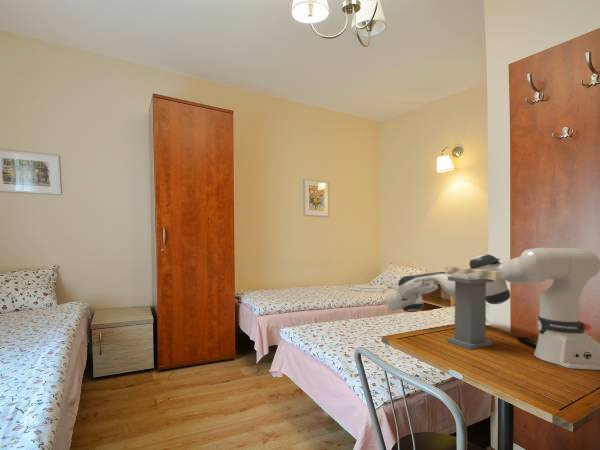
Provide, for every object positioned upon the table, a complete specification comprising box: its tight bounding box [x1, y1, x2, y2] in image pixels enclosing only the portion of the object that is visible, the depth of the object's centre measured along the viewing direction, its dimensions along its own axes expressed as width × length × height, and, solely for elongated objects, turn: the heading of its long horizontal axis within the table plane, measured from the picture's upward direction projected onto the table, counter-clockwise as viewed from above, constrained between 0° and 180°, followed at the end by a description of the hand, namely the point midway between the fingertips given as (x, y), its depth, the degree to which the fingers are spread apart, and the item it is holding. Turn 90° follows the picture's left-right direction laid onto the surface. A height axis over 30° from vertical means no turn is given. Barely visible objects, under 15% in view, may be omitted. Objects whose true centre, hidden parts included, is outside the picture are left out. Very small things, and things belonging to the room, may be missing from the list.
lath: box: [444, 266, 500, 280], centre depth 142 cm, size 22×3×3 cm, turn 28°
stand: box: [446, 273, 494, 350], centre depth 138 cm, size 10×14×27 cm
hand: (430, 281), depth 160 cm, fingers open, 8 cm apart
